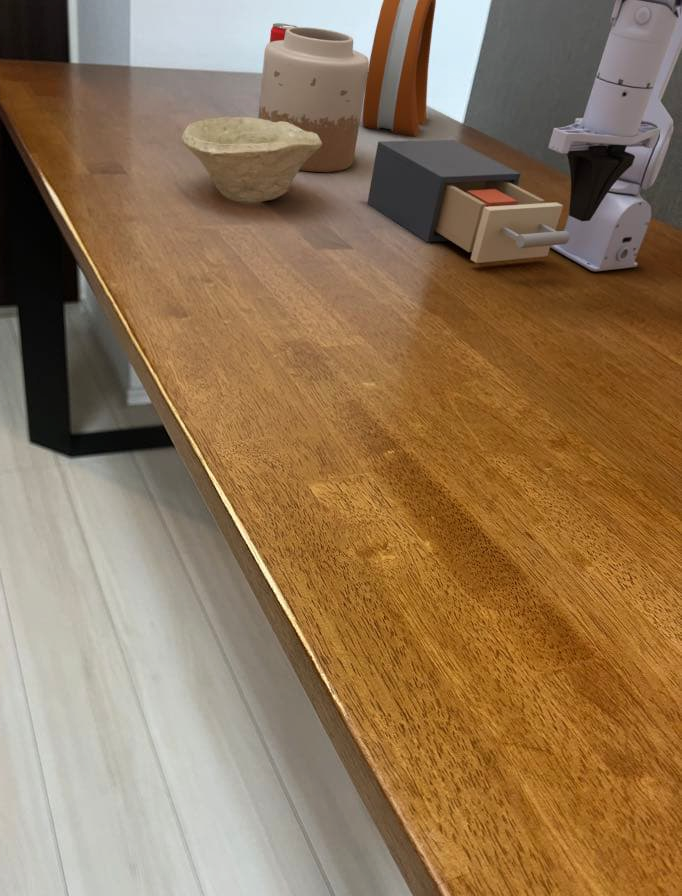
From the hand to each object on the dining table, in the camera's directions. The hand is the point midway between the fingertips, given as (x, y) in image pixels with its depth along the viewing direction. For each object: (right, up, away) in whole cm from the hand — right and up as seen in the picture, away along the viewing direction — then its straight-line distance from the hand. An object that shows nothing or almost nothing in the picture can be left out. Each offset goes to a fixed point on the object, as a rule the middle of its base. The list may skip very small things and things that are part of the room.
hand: (579, 217), depth 94 cm
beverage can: (-33, +47, +66) cm, 88 cm away
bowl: (-37, +11, +21) cm, 44 cm away
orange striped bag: (-12, +41, +62) cm, 75 cm away
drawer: (-6, +2, +13) cm, 15 cm away
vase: (-29, +24, +38) cm, 54 cm away
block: (-7, +4, +14) cm, 16 cm away
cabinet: (-12, +8, +22) cm, 26 cm away
